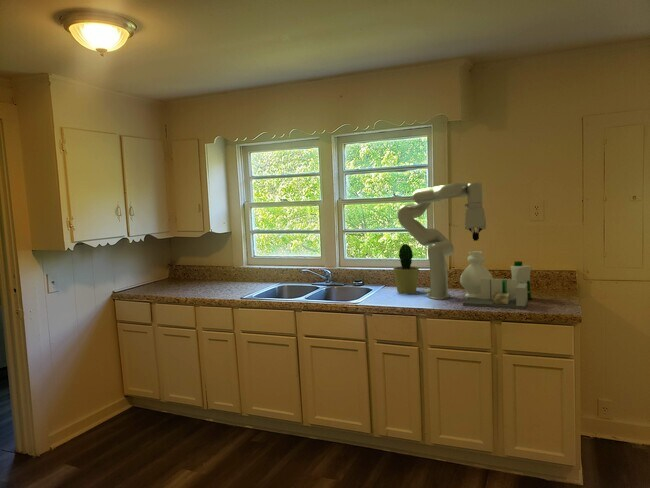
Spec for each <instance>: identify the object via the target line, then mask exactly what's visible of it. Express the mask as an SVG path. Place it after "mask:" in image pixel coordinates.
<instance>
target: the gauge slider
mask: <svg viewBox="0 0 650 488" xmlns="http://www.w3.org/2000/svg"><path fill="white" fill-rule="evenodd" d="M509 301H510V300H509V294H508V293H505V285H504V282H503V293H497V292H496V291H495V292H494V293H493V303H496V304H508V303H509Z"/></svg>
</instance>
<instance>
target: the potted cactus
mask: <svg viewBox="0 0 650 488" xmlns="http://www.w3.org/2000/svg"><path fill="white" fill-rule="evenodd" d="M397 253H398V254H397V255H398V258H399V260H398V261H399V263H400V265H401V266H397V267H396V266H395V267H393V268H392V269H393V274H394V279H395V285H396V286H395V287H396V291H397V293H398V292H399V293H398V294H402V293H406V294H407V293H410V294H415V293H416V292H417V285H418V277H419V267H418V266H415V265H412V264H413V258H414V255H415V253H413V248H412V246H411V245H409V244H407V243H402V245H400V248H399V251H398V252H397ZM406 294H405V295H406Z"/></svg>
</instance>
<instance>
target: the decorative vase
mask: <svg viewBox="0 0 650 488" xmlns="http://www.w3.org/2000/svg"><path fill="white" fill-rule="evenodd" d="M468 254H469V255H468V256H467V258H466V260H467V262H468V263H469V265H468V266H467V267H465V269H464V270H463V271H462V272H461V275H460V278H459V283H460V284H461V286H462V287H463V288H464V289H465V291H466V292H467V293H465V295H464V296H465V297H466V298H481V278H488V279H494V278H493V274H492V273H491V272H490V271H489V269H488V268H487V267H486V266H485V265H483V263H484V262H485V259H486V258H485V257H484V256H483V251H480V250H479V251H478V250H477V251H476V250H475V251H473V250H472V251H468Z"/></svg>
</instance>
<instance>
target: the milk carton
mask: <svg viewBox="0 0 650 488" xmlns="http://www.w3.org/2000/svg"><path fill="white" fill-rule="evenodd" d="M532 267H533V266H532V265H531V266H530V265H526V264H523V261H519V260H517V261H514V264H513V265H510V267H509V268H510V272H511V279H517V285H518V284H519V283H527V301H528V299H529V300H532V295H531V293H532V292H531V270H532Z"/></svg>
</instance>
